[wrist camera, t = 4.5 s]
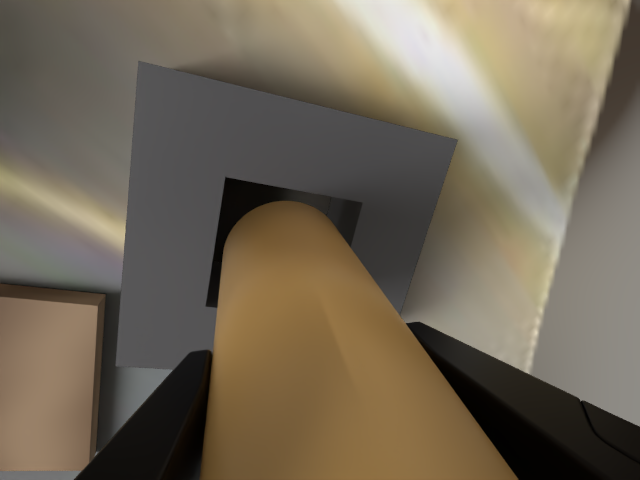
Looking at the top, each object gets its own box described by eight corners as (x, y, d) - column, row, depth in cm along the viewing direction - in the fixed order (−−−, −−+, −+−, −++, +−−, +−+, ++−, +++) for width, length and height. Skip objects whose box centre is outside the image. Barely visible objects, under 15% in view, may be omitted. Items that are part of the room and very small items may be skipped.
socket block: (409, 129, 17) (457, 139, 13) (352, 327, 20) (377, 381, 16) (164, 69, 14) (138, 60, 10) (142, 307, 17) (115, 366, 13)
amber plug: (343, 196, 12) (635, 485, 3) (343, 305, 14) (545, 718, 5) (216, 205, 12) (132, 602, 3) (229, 318, 13) (206, 832, 4)
